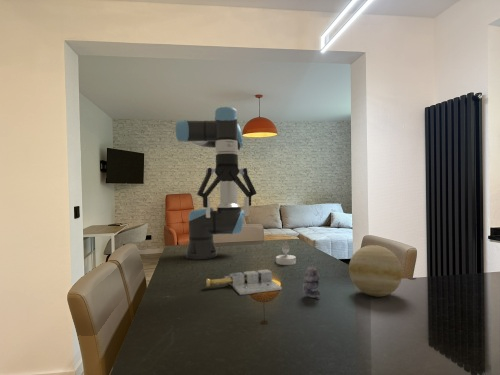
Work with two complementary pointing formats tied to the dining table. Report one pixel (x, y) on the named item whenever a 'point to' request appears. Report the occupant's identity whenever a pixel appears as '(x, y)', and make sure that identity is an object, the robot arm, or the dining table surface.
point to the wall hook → (285, 256)
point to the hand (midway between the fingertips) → (227, 216)
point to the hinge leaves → (253, 282)
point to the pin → (221, 281)
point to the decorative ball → (375, 270)
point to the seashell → (311, 282)
